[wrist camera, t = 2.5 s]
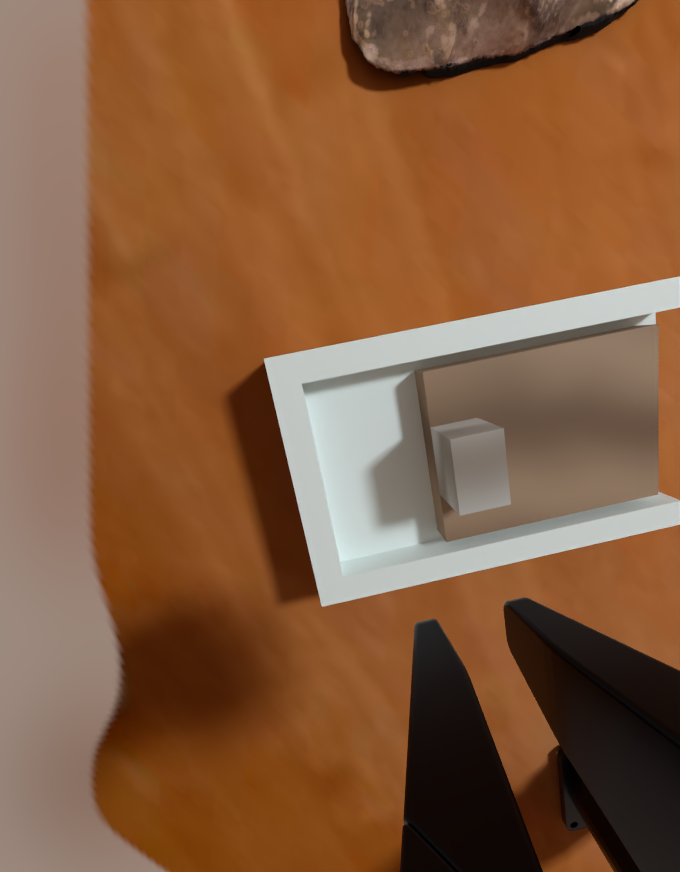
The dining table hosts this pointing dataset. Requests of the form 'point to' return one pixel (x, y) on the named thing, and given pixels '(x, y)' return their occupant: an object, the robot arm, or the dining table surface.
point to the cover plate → (541, 430)
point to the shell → (468, 30)
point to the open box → (406, 454)
